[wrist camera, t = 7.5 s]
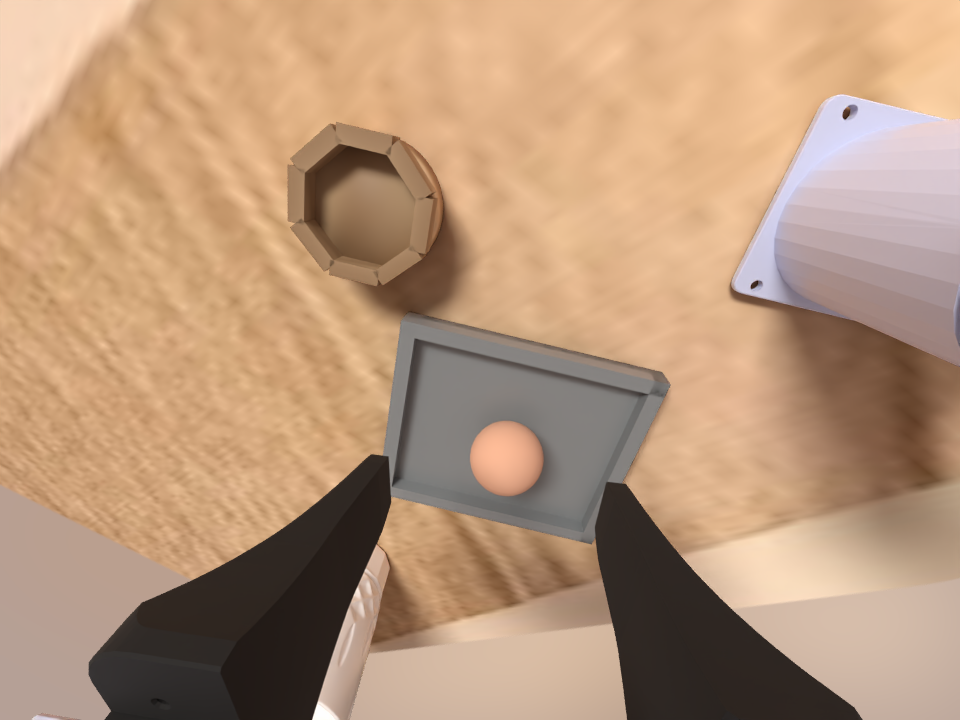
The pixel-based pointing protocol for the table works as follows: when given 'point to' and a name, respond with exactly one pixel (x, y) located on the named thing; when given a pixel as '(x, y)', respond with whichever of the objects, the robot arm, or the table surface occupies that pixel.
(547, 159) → the table surface
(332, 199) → the egg cup
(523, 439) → the ball
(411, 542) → the table surface
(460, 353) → the tray
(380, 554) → the white cup
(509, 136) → the table surface
